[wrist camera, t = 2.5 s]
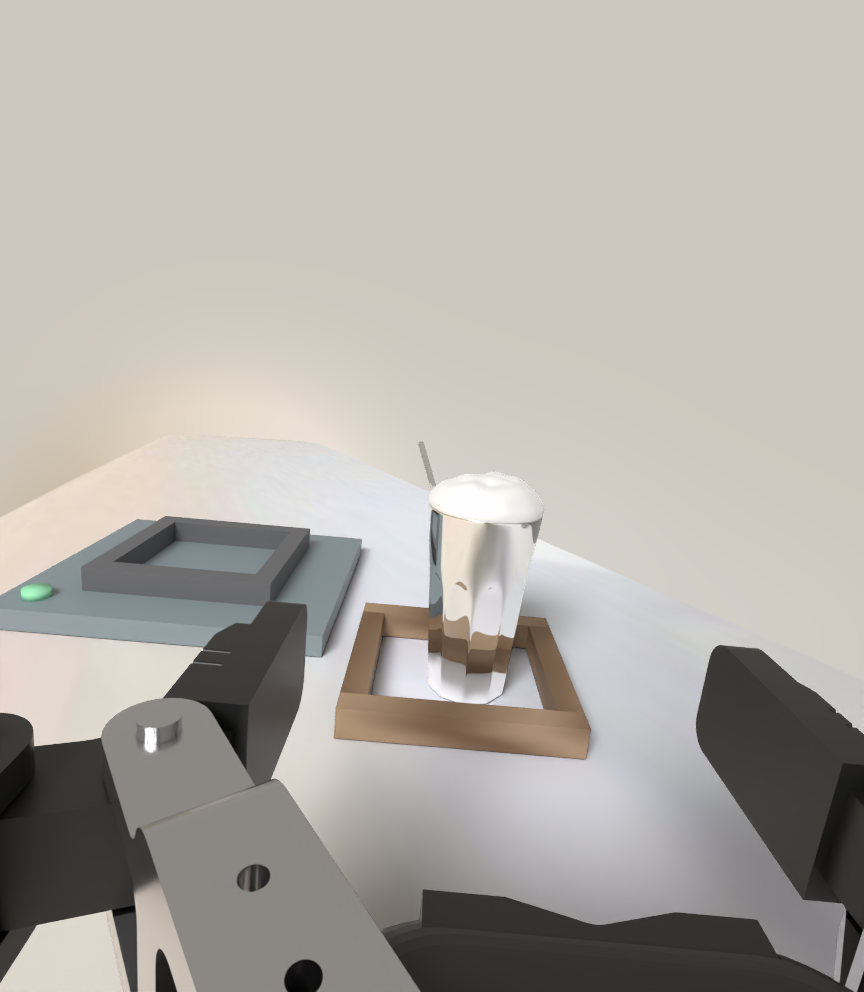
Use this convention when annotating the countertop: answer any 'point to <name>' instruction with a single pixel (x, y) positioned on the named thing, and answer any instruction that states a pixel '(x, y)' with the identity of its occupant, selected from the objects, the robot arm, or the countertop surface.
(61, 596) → the port plate
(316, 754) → the countertop surface
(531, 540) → the milkshake
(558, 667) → the square wooden frame
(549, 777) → the countertop surface
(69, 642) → the countertop surface
